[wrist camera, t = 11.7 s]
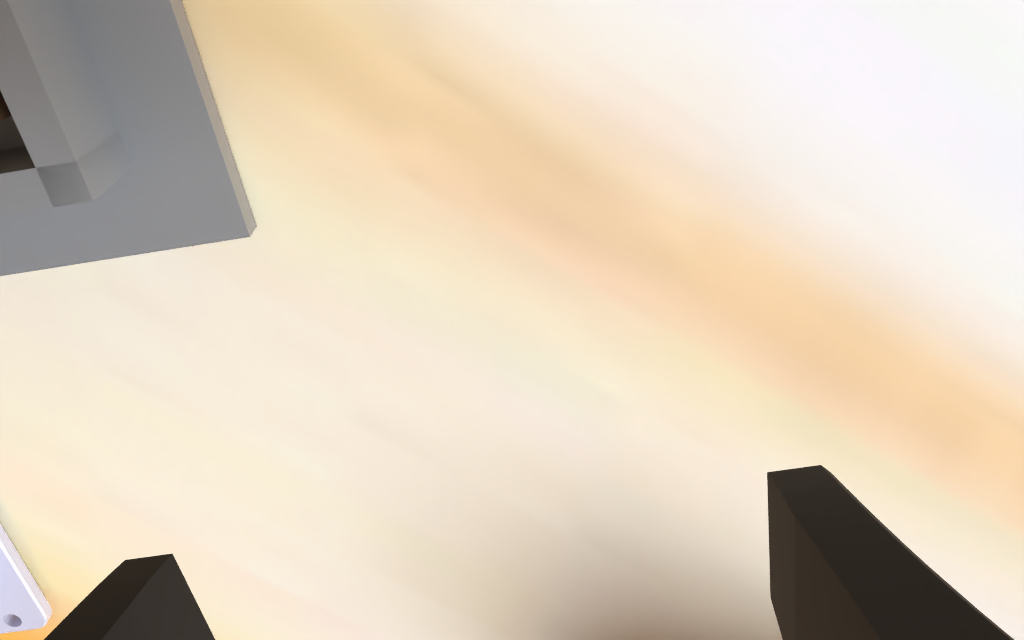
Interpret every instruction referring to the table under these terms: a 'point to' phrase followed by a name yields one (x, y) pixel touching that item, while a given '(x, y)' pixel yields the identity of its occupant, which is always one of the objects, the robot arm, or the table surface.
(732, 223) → the table surface
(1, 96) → the walnut block
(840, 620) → the robot arm
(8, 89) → the stand
